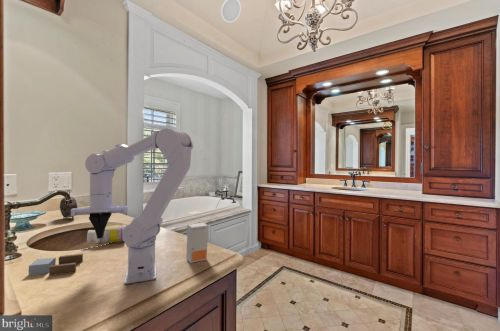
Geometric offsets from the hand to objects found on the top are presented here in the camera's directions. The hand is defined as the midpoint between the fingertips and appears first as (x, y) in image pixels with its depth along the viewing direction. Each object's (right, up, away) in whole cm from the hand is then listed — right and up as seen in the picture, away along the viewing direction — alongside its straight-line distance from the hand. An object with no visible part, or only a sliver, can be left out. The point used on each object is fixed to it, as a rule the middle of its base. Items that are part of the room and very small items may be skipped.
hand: (100, 237), depth 70 cm
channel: (-10, -9, -1) cm, 13 cm away
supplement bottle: (-5, -6, +24) cm, 25 cm away
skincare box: (+28, -10, +8) cm, 31 cm away
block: (-15, -9, -3) cm, 18 cm away
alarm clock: (-54, -7, +54) cm, 77 cm away
